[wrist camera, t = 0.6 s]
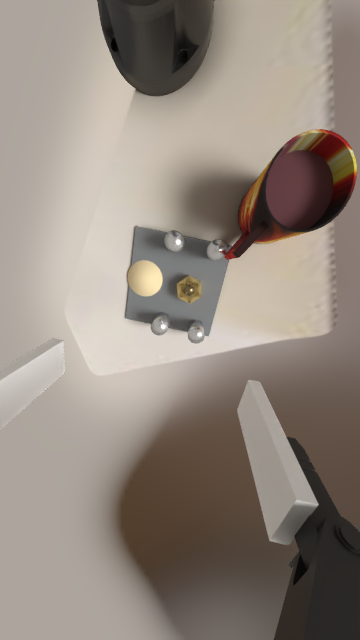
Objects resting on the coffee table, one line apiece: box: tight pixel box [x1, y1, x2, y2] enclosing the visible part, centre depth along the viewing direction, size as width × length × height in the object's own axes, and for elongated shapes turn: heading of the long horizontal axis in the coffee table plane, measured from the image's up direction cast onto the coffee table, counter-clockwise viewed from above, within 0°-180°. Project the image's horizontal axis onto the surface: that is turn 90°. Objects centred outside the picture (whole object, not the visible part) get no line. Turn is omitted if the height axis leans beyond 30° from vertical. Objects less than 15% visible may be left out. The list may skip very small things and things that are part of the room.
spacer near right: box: [206, 240, 227, 260], centre depth 32 cm, size 3×3×5 cm
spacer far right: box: [188, 320, 204, 343], centre depth 36 cm, size 3×3×5 cm
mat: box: [126, 226, 232, 336], centre depth 37 cm, size 18×18×1 cm
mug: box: [224, 129, 357, 260], centre depth 27 cm, size 10×14×12 cm
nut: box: [177, 275, 201, 303], centre depth 35 cm, size 5×4×2 cm
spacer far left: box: [151, 313, 171, 335], centre depth 37 cm, size 3×3×5 cm
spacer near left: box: [164, 231, 185, 252], centre depth 32 cm, size 3×3×5 cm
